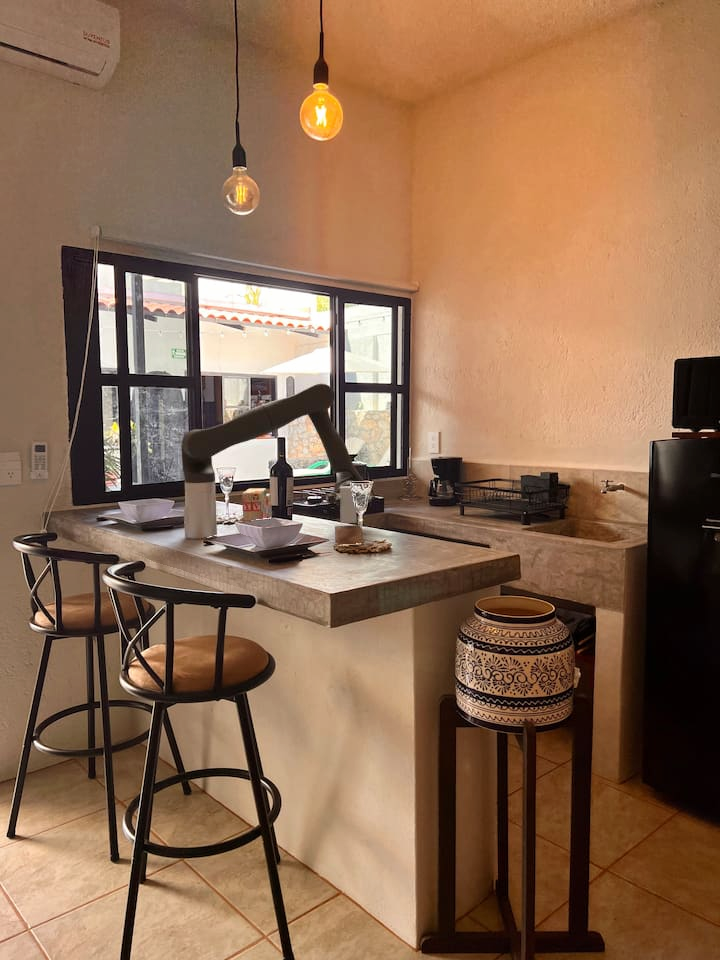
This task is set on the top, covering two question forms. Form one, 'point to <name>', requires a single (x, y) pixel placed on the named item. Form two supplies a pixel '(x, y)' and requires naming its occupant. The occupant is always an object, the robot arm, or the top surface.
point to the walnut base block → (348, 534)
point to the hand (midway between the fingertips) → (348, 502)
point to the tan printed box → (256, 504)
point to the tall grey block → (347, 505)
